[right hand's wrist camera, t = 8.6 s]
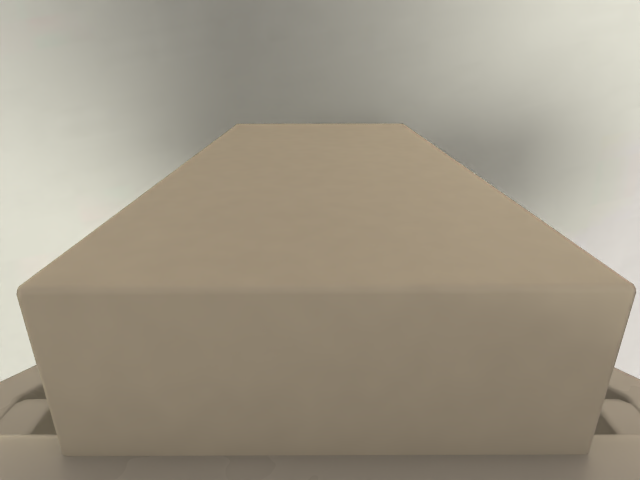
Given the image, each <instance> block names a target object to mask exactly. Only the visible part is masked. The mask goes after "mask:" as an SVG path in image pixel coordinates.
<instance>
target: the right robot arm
mask: <svg viewBox="0 0 640 480" xmlns="http://www.w3.org/2000/svg"><path fill="white" fill-rule="evenodd" d="M0 480H640V379H638V378H636V377H634V376H632V375H629V374H627V373H625V372H623V371H621V370H619V369H617V368H614V369H613V372H612V375H611V379H610V382H609V386H608V389H607V392H606V396H605V399H604V402H603V406H602V409H601V413H600V416H599V419H598V423H597V426H596V429H595V433H594V436H593V440H592V443H591V446H590V450H589V453H587V454H585V455H299V456H64V455H62V451H61V448H60V444H59V441H58V437H57V434H56V430H55V427H54V423H53V420H52V416H51V413H50V409H49V406H48V402H47V399H46V395H45V392H44V388H43V385H42V381H41V378H40V374H39V371H38V367H37V365H35V366H33V367H31V368H29V369H27V370H25V371H22V372H20V373H18V374H16V375H14V376H12V377H10V378H8V379H5V380H3V381H1V382H0Z"/></svg>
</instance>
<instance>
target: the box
mask: <svg viewBox="0 0 640 480" xmlns="http://www.w3.org/2000/svg"><path fill="white" fill-rule="evenodd" d="M635 294H636V288H635V286H634V284H632V283H631V282H629V281H628V280H626V279H625V278H624V277H622V276H621V275H619V274H618V273H616V272H615V271H614V270H612V269H611V268H609V267H608V266H606V265H605V264H603V263H602V262H601V261H599V260H598V259H596V258H595V257H593V256H592V255H591V254H589V253H588V252H586V251H585V250H583V249H582V248H581V247H579V246H578V245H576V244H575V243H573V242H572V241H571V240H569V239H568V238H566V237H565V236H563V235H562V234H560V233H559V232H558V231H556V230H555V229H553V228H552V227H550V226H549V225H548V224H546V223H545V222H543V221H542V220H540V219H539V218H538V217H536V216H535V215H533V214H532V213H530V212H529V211H528V210H526V209H525V208H523V207H522V206H520V205H519V204H517V203H516V202H515V201H513V200H512V199H510V198H509V197H507V196H506V195H505V194H503V193H502V192H500V191H499V190H497V189H496V188H495V187H493V186H492V185H490V184H489V183H487V182H486V181H485V180H483V179H482V178H480V177H479V176H477V175H476V174H474V173H473V172H472V171H470V170H469V169H467V168H466V167H464V166H463V165H462V164H460V163H459V162H457V161H456V160H454V159H453V158H452V157H450V156H449V155H447V154H446V153H444V152H443V151H442V150H440V149H439V148H437V147H436V146H434V145H433V144H431V143H430V142H429V141H427V140H426V139H424V138H423V137H421V136H420V135H419V134H417V133H416V132H414V131H413V130H411V129H410V128H409V127H407V126H406V125H404V124H236V125H235V126H234V127H232V128H231V129H230V130H228V131H227V132H226V133H224V134H223V135H222V136H220V137H219V138H218V139H216V140H215V141H214V142H212V143H211V144H210V145H208V146H207V147H206V148H204V149H203V150H202V151H200V152H199V153H197V154H196V155H195V156H193V157H192V158H191V159H189V160H188V161H187V162H185V163H184V164H183V165H181V166H180V167H179V168H177V169H176V170H175V171H173V172H172V173H171V174H169V175H168V176H167V177H165V178H164V179H163V180H161V181H160V182H159V183H157V184H156V185H154V186H153V187H152V188H150V189H149V190H148V191H146V192H145V193H144V194H142V195H141V196H140V197H138V198H137V199H136V200H134V201H133V202H132V203H130V204H129V205H128V206H126V207H125V208H124V209H122V210H121V211H120V212H118V213H117V214H116V215H114V216H113V217H112V218H110V219H109V220H107V221H106V222H105V223H103V224H102V225H101V226H99V227H98V228H97V229H95V230H94V231H93V232H91V233H90V234H89V235H87V236H86V237H85V238H83V239H82V240H81V241H79V242H78V243H77V244H75V245H74V246H73V247H71V248H70V249H69V250H67V251H66V252H64V253H63V254H62V255H60V256H59V257H58V258H56V259H55V260H54V261H52V262H51V263H50V264H48V265H47V266H46V267H44V268H43V269H42V270H40V271H39V272H38V273H36V274H35V275H34V276H32V277H31V278H30V279H28V280H27V281H26V282H24V283H23V284H21V285H20V286H19V287H18V289H17V298H18V301H19V305H20V308H21V312H22V315H23V319H24V322H25V326H26V329H27V333H28V336H29V340H30V343H31V347H32V350H33V353H34V357H35V360H36V364H37V367H38V371H39V374H40V378H41V381H42V385H43V388H44V392H45V395H46V399H47V402H48V406H49V409H50V413H51V416H52V420H53V423H54V427H55V430H56V434H57V437H58V441H59V444H60V448H61V451H62V455H64V456H299V455H585V454H587V453H589V450H590V446H591V443H592V440H593V436H594V433H595V429H596V426H597V423H598V419H599V416H600V413H601V409H602V406H603V402H604V399H605V396H606V392H607V389H608V386H609V382H610V379H611V375H612V372H613V369H614V365H615V362H616V359H617V355H618V352H619V348H620V345H621V342H622V338H623V335H624V331H625V328H626V325H627V321H628V318H629V315H630V311H631V308H632V304H633V301H634V298H635Z"/></svg>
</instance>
